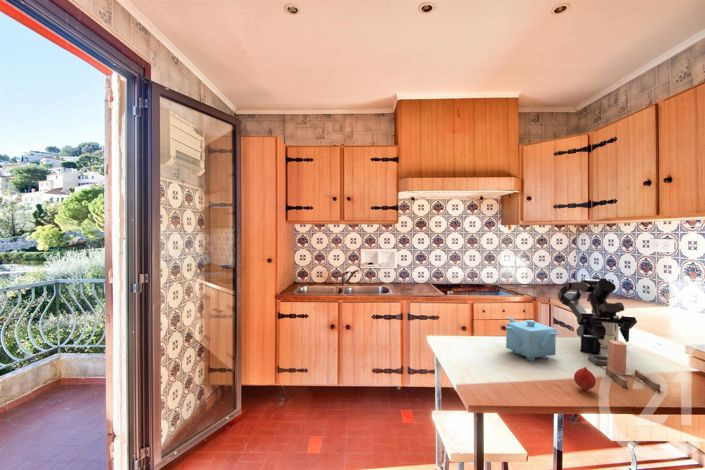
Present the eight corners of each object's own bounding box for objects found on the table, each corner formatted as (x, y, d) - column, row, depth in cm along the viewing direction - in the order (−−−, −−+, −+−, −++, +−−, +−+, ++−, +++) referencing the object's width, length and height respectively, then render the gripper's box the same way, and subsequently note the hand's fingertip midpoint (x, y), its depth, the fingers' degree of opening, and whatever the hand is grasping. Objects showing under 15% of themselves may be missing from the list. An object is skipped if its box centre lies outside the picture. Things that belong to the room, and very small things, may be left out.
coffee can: (586, 339, 155) (587, 310, 154) (612, 342, 151) (613, 313, 151) (595, 346, 145) (596, 316, 145) (622, 349, 142) (623, 318, 141)
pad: (601, 366, 123) (601, 365, 123) (622, 369, 121) (622, 368, 121) (609, 373, 117) (609, 372, 117) (632, 375, 115) (632, 374, 115)
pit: (588, 359, 130) (588, 354, 130) (616, 362, 127) (616, 357, 127) (595, 365, 124) (595, 360, 124) (625, 368, 122) (625, 363, 122)
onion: (569, 386, 106) (570, 362, 106) (585, 385, 107) (586, 362, 107) (583, 395, 101) (584, 370, 100) (600, 394, 101) (600, 370, 101)
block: (607, 367, 121) (608, 340, 121) (619, 368, 120) (620, 341, 120) (613, 371, 117) (614, 343, 117) (625, 373, 116) (626, 344, 116)
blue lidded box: (552, 352, 137) (553, 318, 137) (558, 368, 120) (560, 330, 120) (504, 344, 145) (505, 312, 145) (504, 358, 129) (505, 323, 128)
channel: (605, 373, 117) (605, 366, 117) (638, 377, 114) (638, 370, 114) (623, 387, 106) (623, 380, 106) (660, 392, 104) (660, 384, 104)
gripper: (580, 292, 128) (593, 327, 118) (635, 296, 124) (653, 332, 113) (571, 307, 136) (583, 341, 125) (622, 310, 131) (638, 346, 121)
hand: (613, 340), depth 121 cm, fingers open, 9 cm apart
